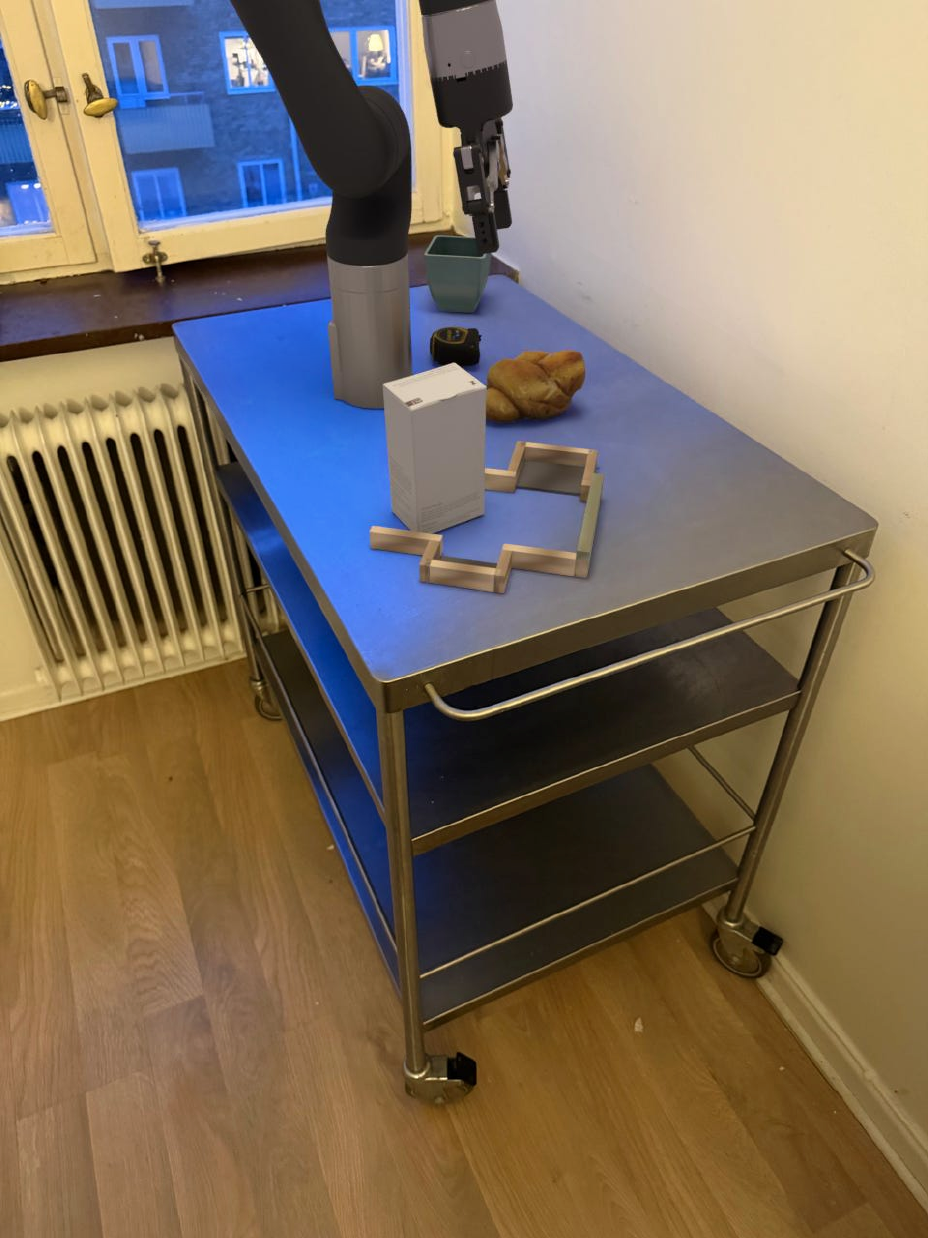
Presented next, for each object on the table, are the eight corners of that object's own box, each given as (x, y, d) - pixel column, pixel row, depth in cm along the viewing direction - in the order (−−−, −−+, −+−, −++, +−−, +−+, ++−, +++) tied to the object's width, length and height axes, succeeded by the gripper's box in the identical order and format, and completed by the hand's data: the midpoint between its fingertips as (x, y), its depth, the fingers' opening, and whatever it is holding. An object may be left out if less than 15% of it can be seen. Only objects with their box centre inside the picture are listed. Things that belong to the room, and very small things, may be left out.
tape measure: (479, 373, 116) (480, 346, 114) (428, 371, 116) (427, 344, 114) (481, 351, 121) (481, 324, 119) (431, 349, 121) (431, 323, 119)
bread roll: (493, 438, 103) (496, 374, 98) (460, 402, 110) (460, 340, 104) (589, 417, 107) (596, 355, 102) (551, 384, 114) (556, 323, 108)
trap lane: (358, 572, 83) (356, 547, 81) (422, 445, 101) (422, 421, 99) (581, 604, 80) (584, 578, 78) (606, 467, 98) (610, 443, 96)
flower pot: (424, 316, 130) (423, 253, 124) (435, 294, 137) (435, 233, 131) (483, 320, 129) (484, 257, 123) (491, 298, 136) (493, 237, 130)
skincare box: (456, 490, 94) (456, 358, 84) (487, 518, 90) (491, 383, 81) (387, 513, 91) (379, 379, 81) (416, 542, 87) (411, 405, 77)
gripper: (445, 60, 90) (474, 225, 100) (412, 83, 80) (448, 266, 89) (517, 45, 88) (539, 215, 98) (492, 67, 78) (520, 255, 87)
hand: (496, 239), depth 94 cm, fingers open, 8 cm apart
